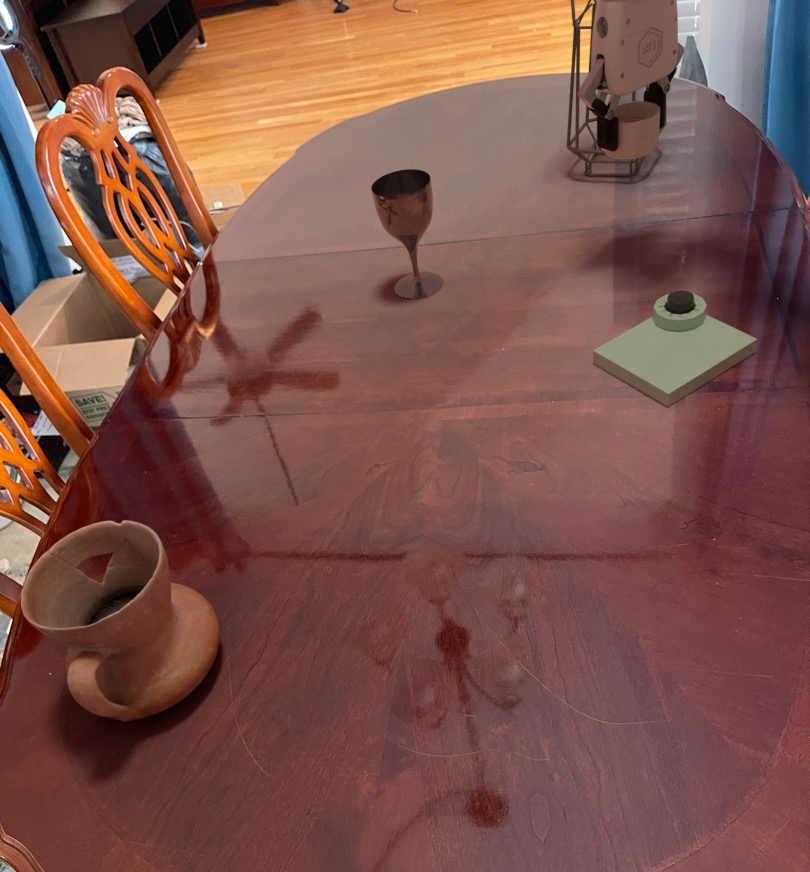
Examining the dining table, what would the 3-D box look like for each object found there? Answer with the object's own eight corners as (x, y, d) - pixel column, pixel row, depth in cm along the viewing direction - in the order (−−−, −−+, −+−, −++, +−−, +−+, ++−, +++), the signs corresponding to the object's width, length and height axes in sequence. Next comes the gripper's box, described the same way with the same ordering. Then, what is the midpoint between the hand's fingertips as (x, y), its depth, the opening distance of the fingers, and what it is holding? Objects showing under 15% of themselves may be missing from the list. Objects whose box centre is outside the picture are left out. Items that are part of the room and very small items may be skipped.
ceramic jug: (115, 598, 85) (50, 503, 75) (246, 594, 83) (197, 494, 72) (50, 756, 73) (-38, 669, 63) (201, 757, 71) (134, 665, 60)
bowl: (631, 132, 109) (632, 96, 105) (670, 145, 104) (672, 108, 101) (590, 152, 107) (590, 116, 103) (628, 165, 102) (629, 128, 99)
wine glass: (421, 265, 121) (404, 164, 111) (457, 281, 117) (443, 177, 106) (380, 289, 119) (359, 188, 108) (415, 306, 114) (396, 202, 103)
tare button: (679, 298, 99) (680, 287, 98) (698, 307, 97) (699, 296, 96) (661, 309, 98) (662, 297, 97) (680, 318, 97) (681, 306, 95)
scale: (676, 311, 103) (679, 286, 100) (758, 350, 95) (762, 325, 92) (590, 362, 99) (590, 337, 96) (667, 407, 91) (669, 382, 88)
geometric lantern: (584, 143, 140) (582, -110, 115) (677, 145, 134) (697, -123, 109) (554, 185, 132) (544, -79, 106) (652, 189, 125) (667, -91, 100)
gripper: (598, 3, 87) (598, 170, 100) (716, -47, 91) (702, 119, 104) (552, -5, 92) (558, 155, 104) (667, -52, 96) (659, 107, 109)
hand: (630, 136), depth 104 cm, fingers closed on bowl, 7 cm apart
